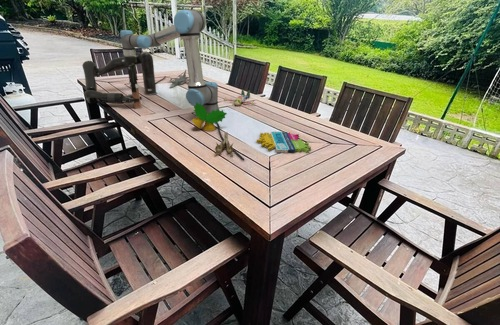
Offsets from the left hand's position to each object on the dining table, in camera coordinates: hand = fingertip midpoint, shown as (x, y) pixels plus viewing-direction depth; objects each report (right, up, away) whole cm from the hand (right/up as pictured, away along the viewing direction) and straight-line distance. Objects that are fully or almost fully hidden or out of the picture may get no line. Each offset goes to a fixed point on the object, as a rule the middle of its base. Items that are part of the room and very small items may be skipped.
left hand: (140, 99), depth 189 cm
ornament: (+54, -24, -24) cm, 64 cm away
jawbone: (+66, -40, -50) cm, 92 cm away
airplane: (+10, +34, +74) cm, 81 cm away
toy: (+72, +6, +32) cm, 79 cm away
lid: (-2, +9, -5) cm, 10 cm away
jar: (-3, -5, +3) cm, 7 cm away
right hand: (-2, +5, -3) cm, 7 cm away
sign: (+98, -34, -36) cm, 110 cm away
